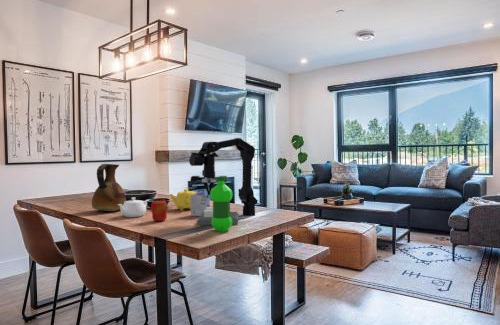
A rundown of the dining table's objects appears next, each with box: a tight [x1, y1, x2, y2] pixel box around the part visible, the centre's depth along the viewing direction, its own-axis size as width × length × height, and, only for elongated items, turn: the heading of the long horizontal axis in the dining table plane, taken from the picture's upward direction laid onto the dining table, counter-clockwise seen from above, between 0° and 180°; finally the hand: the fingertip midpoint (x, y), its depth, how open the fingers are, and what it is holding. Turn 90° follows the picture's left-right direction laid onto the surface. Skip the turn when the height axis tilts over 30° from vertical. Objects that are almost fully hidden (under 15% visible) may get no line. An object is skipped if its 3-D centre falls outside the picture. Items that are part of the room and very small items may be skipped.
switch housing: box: [197, 211, 239, 226], centre depth 184 cm, size 20×16×4 cm
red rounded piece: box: [150, 200, 169, 222], centre depth 188 cm, size 9×8×12 cm
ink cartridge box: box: [190, 189, 211, 217], centre depth 202 cm, size 10×6×14 cm, turn 78°
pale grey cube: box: [204, 210, 213, 217], centre depth 180 cm, size 4×4×4 cm
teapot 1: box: [117, 196, 148, 218], centre depth 203 cm, size 22×14×11 cm, turn 153°
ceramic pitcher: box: [91, 163, 127, 212], centre depth 221 cm, size 20×20×30 cm
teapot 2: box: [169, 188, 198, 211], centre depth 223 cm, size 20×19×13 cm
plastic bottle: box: [210, 175, 234, 232], centre depth 164 cm, size 10×10×25 cm
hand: (209, 195), depth 186 cm, fingers closed
